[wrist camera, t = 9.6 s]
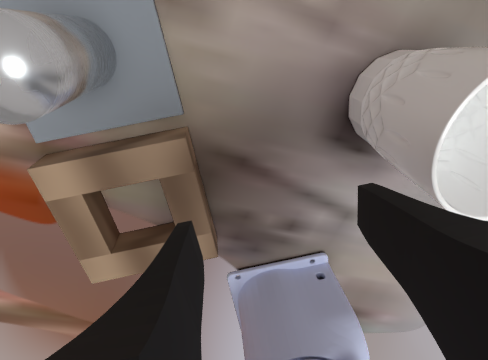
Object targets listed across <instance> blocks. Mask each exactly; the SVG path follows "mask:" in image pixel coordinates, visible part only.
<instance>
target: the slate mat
mask: <svg viewBox="0 0 488 360" xmlns="http://www.w3.org/2000/svg"><path fill="white" fill-rule="evenodd" d="M0 8H5V9H14V10H23V11H31V12H40V13H49V14H58V15H67V16H76V17H81V18H84V19H87V20H89V21H91V22H93V23H95V24H96V25H97V26H99V27H100V28H101V29H102V30H103V31H104V32H105V33H106V34H107V36H108V37H109V39H110V40H111V42H112V44H113V46H114V49H115V53H116V68H115V72H114V74H113V76H112V77H111V79H110V80H109V81H108V82H107V83H106V84H104V85H102V86H101V87H99V88H97V89H95V90H93V91H91V92H89V93H87V94H85V95H83V96H81V97H79V98H77V99H75V100H73V101H71V102H69V103H67V104H65V105H63V106H61V107H59V108H57V109H55V110H54V111H52V112H50V113H48V114H46V115H44V116H42V117H40V118H38V119H36V120H33V121H31V122H28V123H26V125H27V126H28V128H29V130H30V132H31V134H32V136H33V138H34V140H35V142H36V143H40V142H45V141H50V140H55V139H60V138H65V137H70V136H75V135H81V134H86V133H91V132H96V131H101V130H106V129H111V128H116V127H121V126H126V125H131V124H136V123H141V122H146V121H151V120H157V119H162V118H167V117H172V116H177V115H182V114H184V112H183V108H182V104H181V100H180V96H179V93H178V89H177V85H176V81H175V78H174V74H173V70H172V66H171V63H170V59H169V55H168V51H167V48H166V44H165V40H164V36H163V33H162V29H161V25H160V21H159V18H158V14H157V10H156V6H155V2H154V0H0Z"/></svg>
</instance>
